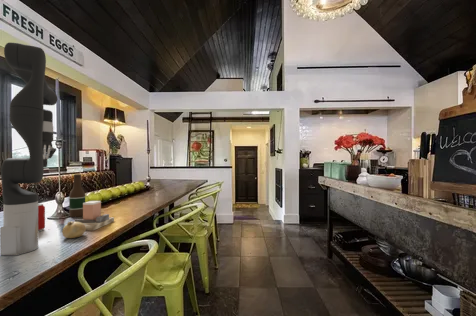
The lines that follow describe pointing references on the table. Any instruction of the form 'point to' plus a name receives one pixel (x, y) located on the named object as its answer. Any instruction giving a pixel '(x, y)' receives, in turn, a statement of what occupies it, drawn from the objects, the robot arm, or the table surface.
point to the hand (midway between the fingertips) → (43, 167)
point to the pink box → (91, 210)
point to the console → (96, 222)
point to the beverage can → (41, 217)
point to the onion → (73, 229)
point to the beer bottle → (76, 198)
